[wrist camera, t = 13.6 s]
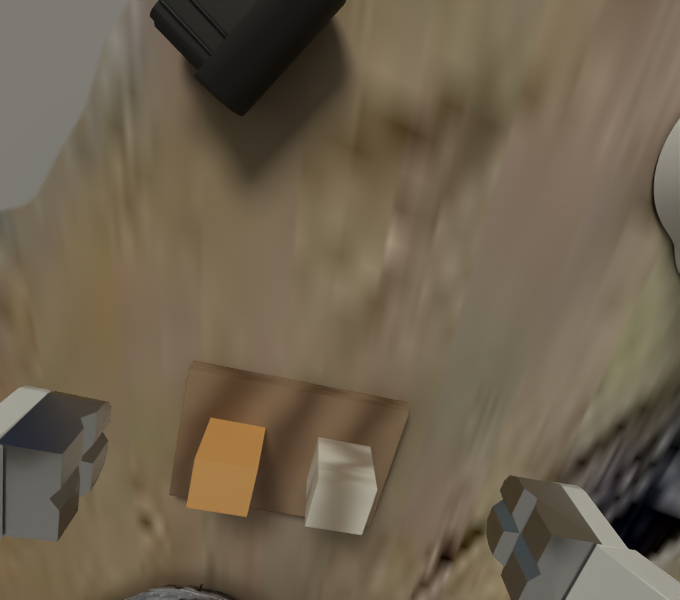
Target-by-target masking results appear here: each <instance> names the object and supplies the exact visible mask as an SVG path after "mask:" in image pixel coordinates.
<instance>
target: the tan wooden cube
mask: <svg viewBox="0 0 680 600" xmlns="http://www.w3.org/2000/svg"><path fill="white" fill-rule="evenodd" d="M265 429H266V428H265V427H259V426H254V425H249V424H243V423H238V422H232V421H227V420H221V419H216V418H210V421H209V423H208V426H207V428H206V431H205V433H204V436H203V439H202V441H201V444H200V446H199V449H198V451H197V454H196V457H195V460H194V466H193V471H192V477H191V483H190V489H189V494H188V500H187V506H186V507H187V508H193V509H199V510H206V511H212V512H218V513H225V514H231V515H237V516H243V517H247V514H248V510H249V505H250V501H251V497H252V492H253V488H254V484H255V480H256V475H257V471H258V466H259V461H260V455H261V450H262V445H263V439H264V434H265Z"/></svg>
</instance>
